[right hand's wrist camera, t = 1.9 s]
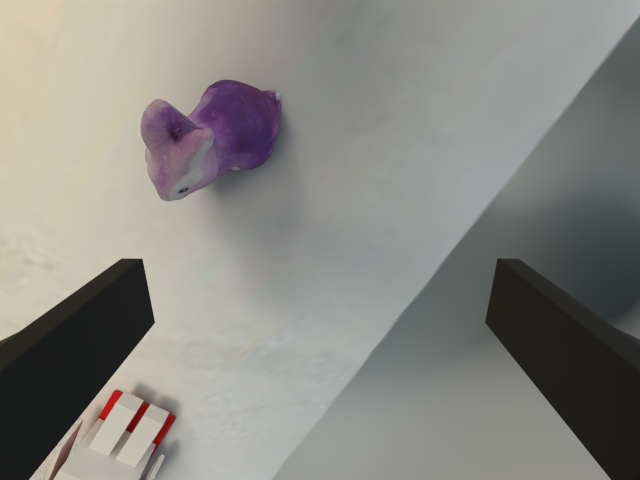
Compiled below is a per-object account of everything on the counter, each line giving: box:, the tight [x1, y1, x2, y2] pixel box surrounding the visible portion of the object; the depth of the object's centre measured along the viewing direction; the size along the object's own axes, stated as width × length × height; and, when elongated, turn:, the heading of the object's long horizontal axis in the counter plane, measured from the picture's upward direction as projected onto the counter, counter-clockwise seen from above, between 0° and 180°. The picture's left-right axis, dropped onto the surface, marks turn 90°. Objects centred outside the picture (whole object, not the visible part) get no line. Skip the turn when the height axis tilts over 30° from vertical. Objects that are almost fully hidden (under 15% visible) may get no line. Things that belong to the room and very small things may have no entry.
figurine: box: [141, 80, 281, 201], centre depth 28 cm, size 9×10×15 cm
